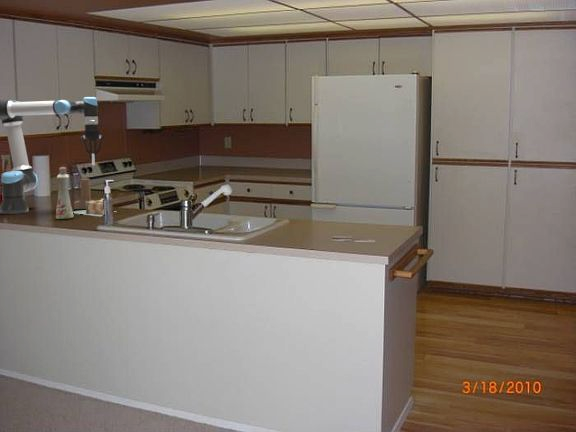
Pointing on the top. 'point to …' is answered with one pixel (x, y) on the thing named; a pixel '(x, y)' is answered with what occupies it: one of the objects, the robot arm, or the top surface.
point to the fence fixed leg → (94, 208)
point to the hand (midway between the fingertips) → (93, 165)
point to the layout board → (85, 213)
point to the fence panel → (96, 201)
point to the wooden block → (83, 194)
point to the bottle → (63, 196)
